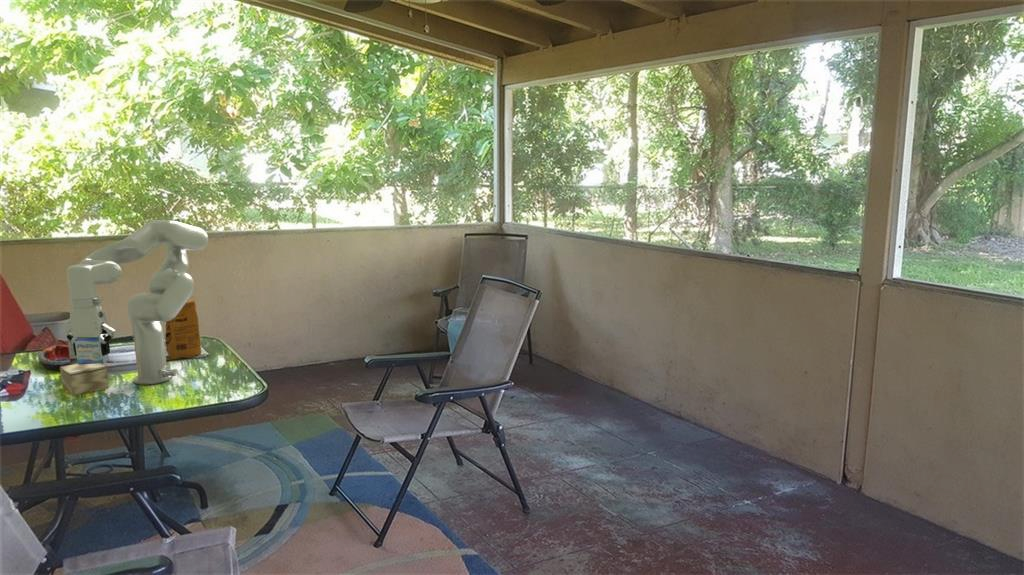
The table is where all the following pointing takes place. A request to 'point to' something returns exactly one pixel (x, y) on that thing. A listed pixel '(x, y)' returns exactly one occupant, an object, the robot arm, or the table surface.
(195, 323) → the coffee package
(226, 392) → the table surface
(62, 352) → the dish
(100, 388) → the carton
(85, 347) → the medicine box
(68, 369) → the carton lid
